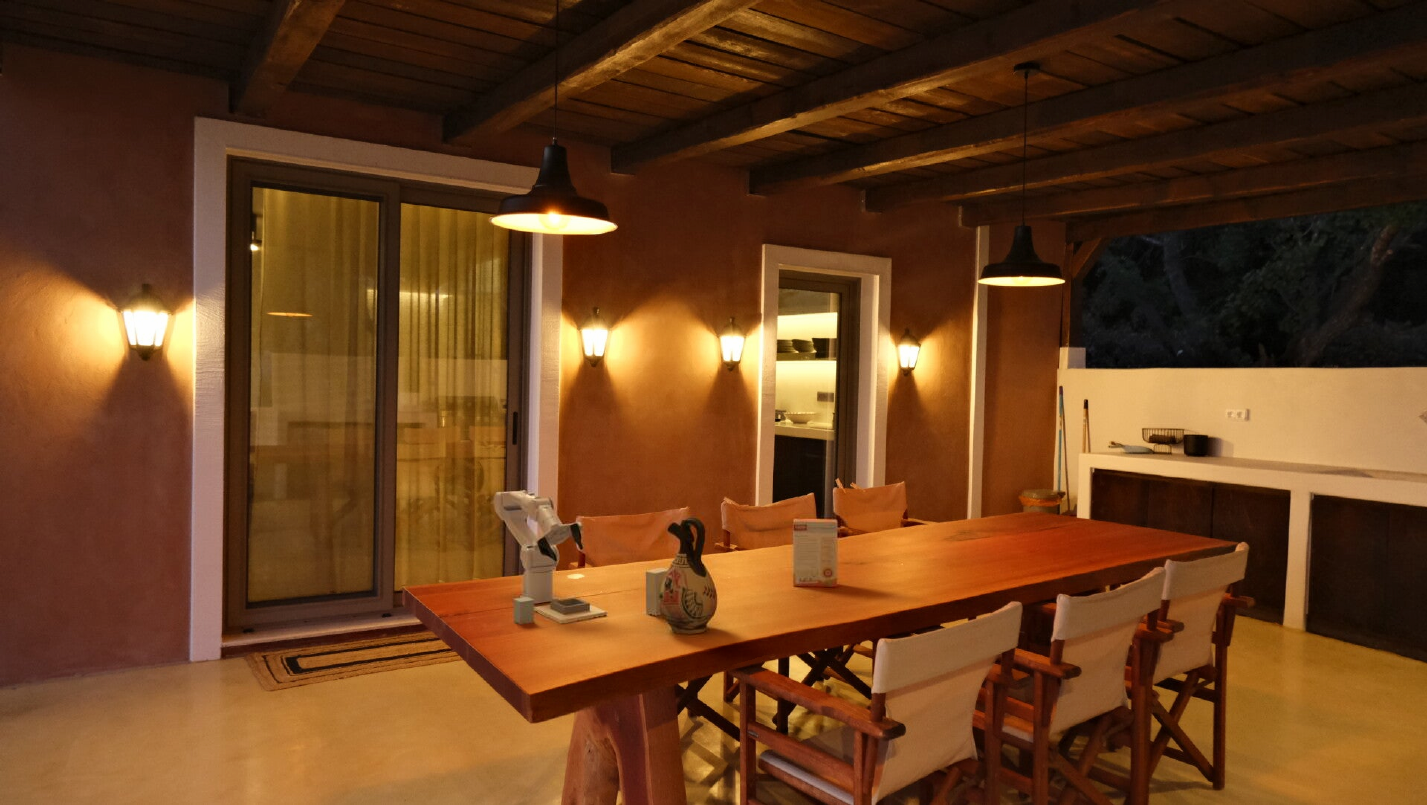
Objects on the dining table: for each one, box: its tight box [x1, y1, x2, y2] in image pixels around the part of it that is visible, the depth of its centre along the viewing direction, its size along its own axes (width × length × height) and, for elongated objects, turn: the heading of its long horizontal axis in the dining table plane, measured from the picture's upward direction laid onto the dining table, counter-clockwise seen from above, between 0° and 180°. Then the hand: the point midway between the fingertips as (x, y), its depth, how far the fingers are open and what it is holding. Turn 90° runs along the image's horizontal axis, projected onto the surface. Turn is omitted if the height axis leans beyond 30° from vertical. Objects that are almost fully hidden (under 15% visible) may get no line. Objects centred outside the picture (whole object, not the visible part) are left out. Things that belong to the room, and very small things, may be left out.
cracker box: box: [792, 518, 838, 588], centre depth 283 cm, size 14×6×21 cm, turn 84°
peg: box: [513, 597, 535, 625], centre depth 239 cm, size 4×4×6 cm
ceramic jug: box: [659, 517, 718, 636], centre depth 231 cm, size 17×15×30 cm
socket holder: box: [534, 597, 608, 625], centre depth 247 cm, size 16×14×3 cm
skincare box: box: [645, 567, 669, 617], centre depth 248 cm, size 6×4×12 cm
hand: (568, 552), depth 243 cm, fingers open, 7 cm apart
